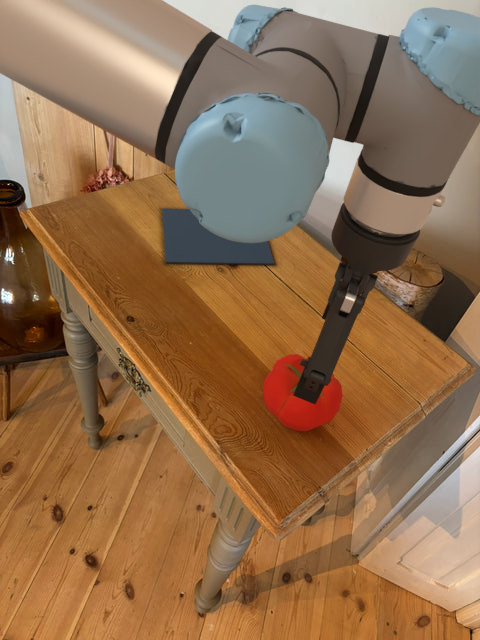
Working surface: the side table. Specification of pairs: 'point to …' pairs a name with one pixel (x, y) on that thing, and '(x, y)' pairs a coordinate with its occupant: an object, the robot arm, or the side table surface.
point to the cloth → (206, 243)
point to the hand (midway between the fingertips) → (319, 355)
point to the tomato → (292, 408)
